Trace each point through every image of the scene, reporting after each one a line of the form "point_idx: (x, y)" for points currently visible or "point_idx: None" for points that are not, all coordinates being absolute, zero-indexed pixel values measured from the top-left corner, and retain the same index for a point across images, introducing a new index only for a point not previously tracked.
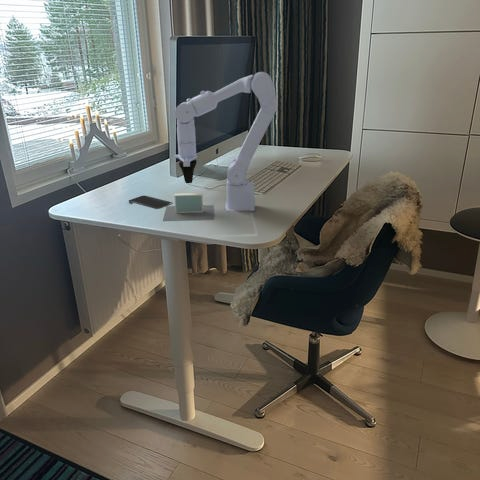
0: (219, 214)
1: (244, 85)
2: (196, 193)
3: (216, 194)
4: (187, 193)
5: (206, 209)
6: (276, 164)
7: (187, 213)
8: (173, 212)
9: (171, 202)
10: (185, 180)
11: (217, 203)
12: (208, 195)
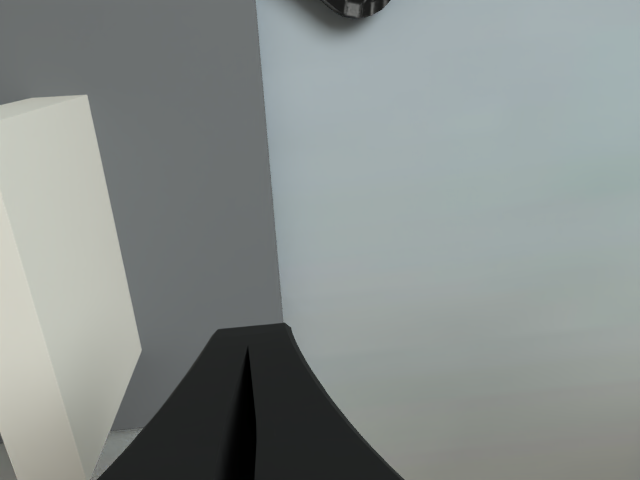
0: (106, 455)
1: None
2: (56, 426)
3: (601, 386)
4: (36, 318)
5: (169, 372)
6: None
7: None
8: (40, 71)
9: (378, 2)
10: (200, 362)
11: (372, 416)
12: (591, 331)
